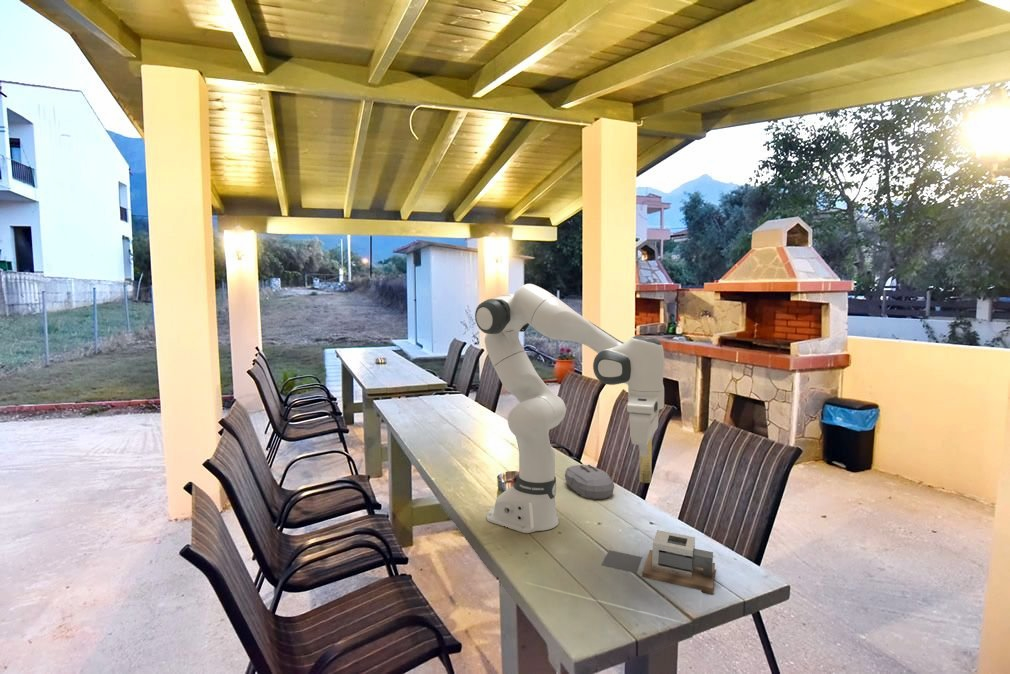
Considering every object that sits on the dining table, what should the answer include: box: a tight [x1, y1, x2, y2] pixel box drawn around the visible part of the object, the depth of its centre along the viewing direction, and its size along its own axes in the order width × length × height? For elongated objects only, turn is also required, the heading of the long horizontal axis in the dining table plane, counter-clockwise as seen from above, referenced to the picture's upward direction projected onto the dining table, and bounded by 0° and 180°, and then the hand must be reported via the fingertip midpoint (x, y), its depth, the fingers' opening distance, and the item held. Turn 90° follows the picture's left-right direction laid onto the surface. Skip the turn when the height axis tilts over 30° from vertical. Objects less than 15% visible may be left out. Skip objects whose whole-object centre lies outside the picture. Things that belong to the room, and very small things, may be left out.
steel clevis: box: [652, 529, 714, 578], centre depth 133 cm, size 14×8×7 cm, turn 66°
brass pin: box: [638, 436, 653, 484], centre depth 134 cm, size 3×3×16 cm
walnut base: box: [641, 549, 716, 595], centre depth 133 cm, size 16×13×2 cm
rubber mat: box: [601, 549, 643, 574], centre depth 138 cm, size 9×9×1 cm
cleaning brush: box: [564, 464, 615, 500], centre depth 189 cm, size 15×8×20 cm
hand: (645, 453), depth 134 cm, fingers closed on brass pin, 3 cm apart
